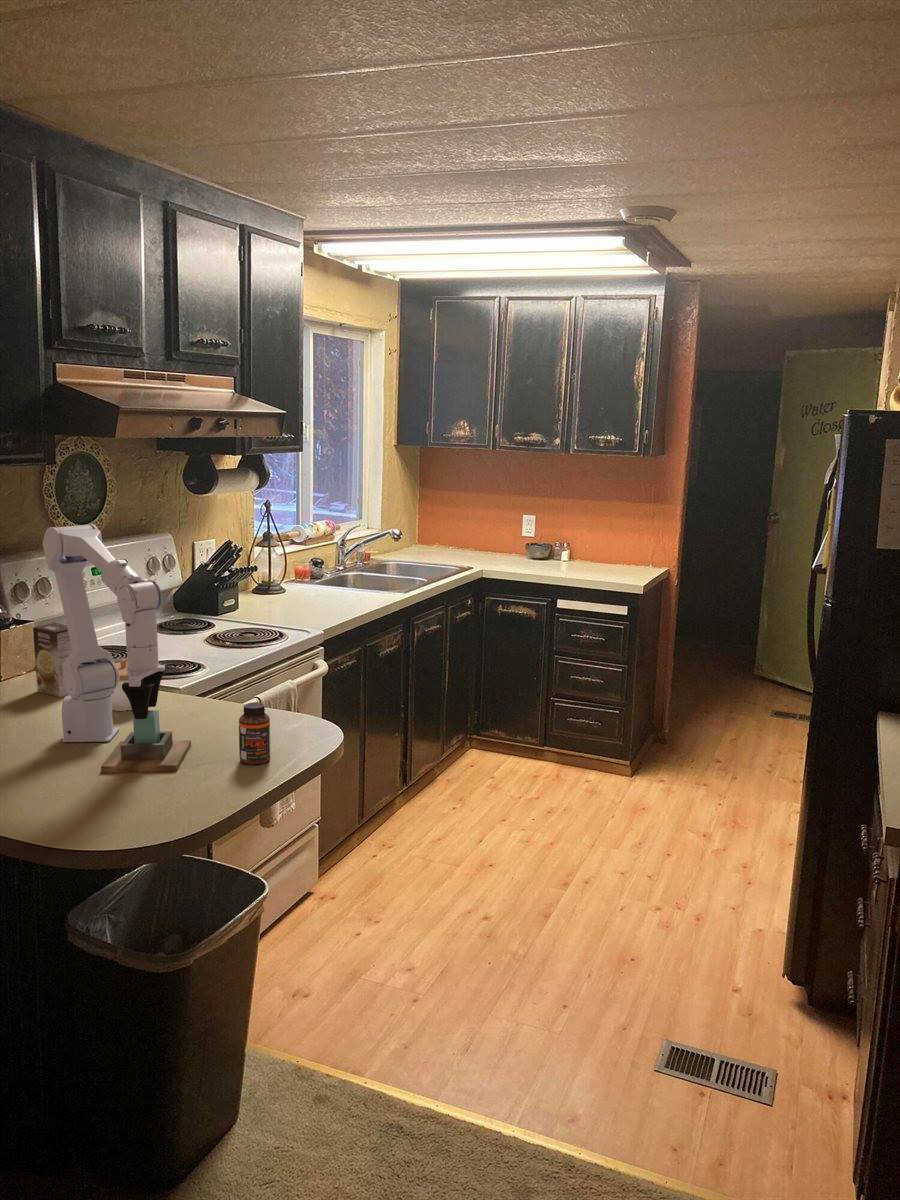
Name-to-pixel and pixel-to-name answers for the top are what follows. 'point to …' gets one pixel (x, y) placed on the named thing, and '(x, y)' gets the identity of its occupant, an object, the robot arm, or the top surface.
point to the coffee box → (51, 657)
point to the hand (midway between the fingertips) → (145, 712)
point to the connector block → (147, 728)
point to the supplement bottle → (254, 734)
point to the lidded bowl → (119, 696)
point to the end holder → (147, 755)
